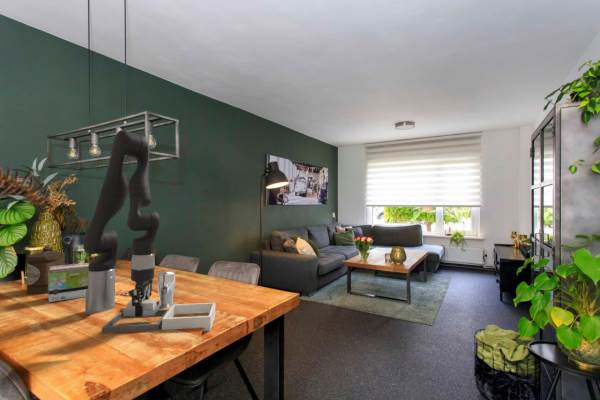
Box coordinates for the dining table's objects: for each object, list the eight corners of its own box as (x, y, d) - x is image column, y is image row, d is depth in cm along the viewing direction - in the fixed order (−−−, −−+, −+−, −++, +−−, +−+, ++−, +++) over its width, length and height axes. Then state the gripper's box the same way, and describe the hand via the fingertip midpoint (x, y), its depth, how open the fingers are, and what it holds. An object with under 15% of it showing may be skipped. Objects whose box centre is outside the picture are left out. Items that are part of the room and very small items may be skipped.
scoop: (117, 318, 103) (117, 311, 103) (124, 312, 109) (124, 305, 109) (154, 316, 105) (154, 310, 105) (159, 310, 111) (159, 304, 111)
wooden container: (24, 290, 149) (25, 246, 149) (61, 284, 160) (62, 243, 161) (29, 296, 139) (29, 249, 140) (68, 289, 151) (68, 246, 151)
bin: (161, 333, 101) (162, 319, 101) (173, 317, 116) (173, 304, 116) (210, 330, 104) (210, 316, 104) (215, 315, 118) (215, 302, 118)
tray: (101, 337, 98) (102, 327, 98) (121, 320, 113) (121, 311, 113) (158, 334, 101) (158, 324, 101) (169, 317, 115) (170, 309, 115)
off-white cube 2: (140, 314, 105) (140, 303, 105) (144, 310, 109) (145, 299, 109) (152, 314, 106) (152, 303, 106) (156, 310, 110) (156, 299, 110)
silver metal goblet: (153, 310, 123) (153, 274, 123) (165, 304, 130) (166, 270, 130) (166, 312, 121) (166, 275, 121) (178, 306, 127) (179, 271, 127)
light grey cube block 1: (126, 315, 104) (126, 303, 104) (131, 310, 108) (131, 300, 108) (138, 314, 105) (139, 303, 105) (142, 310, 109) (143, 299, 109)
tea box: (48, 303, 130) (49, 269, 130) (47, 297, 138) (48, 266, 138) (90, 296, 140) (90, 265, 140) (87, 291, 148) (87, 261, 148)
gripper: (139, 262, 114) (138, 306, 113) (123, 271, 99) (121, 321, 99) (160, 262, 115) (159, 305, 115) (146, 270, 100) (145, 320, 100)
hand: (141, 312), depth 107 cm, fingers closed on scoop, 5 cm apart
